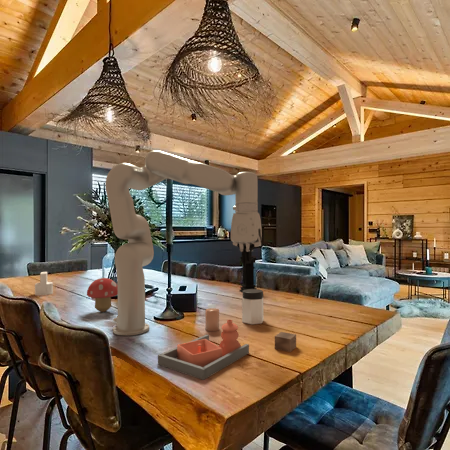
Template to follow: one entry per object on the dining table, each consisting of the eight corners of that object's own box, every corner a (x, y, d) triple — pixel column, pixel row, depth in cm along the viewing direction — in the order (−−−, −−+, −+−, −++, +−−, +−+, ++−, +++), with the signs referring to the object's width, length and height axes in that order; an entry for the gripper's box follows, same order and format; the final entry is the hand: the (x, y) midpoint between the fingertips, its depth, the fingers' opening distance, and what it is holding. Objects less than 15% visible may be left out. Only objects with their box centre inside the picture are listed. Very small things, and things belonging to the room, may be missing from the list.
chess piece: (239, 291, 192) (239, 256, 193) (252, 290, 195) (251, 256, 195) (244, 293, 185) (244, 257, 185) (257, 292, 187) (257, 257, 187)
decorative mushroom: (105, 306, 155) (105, 275, 155) (125, 310, 148) (125, 277, 148) (80, 313, 144) (80, 278, 144) (100, 317, 137) (100, 281, 137)
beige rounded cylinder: (202, 329, 120) (202, 310, 120) (211, 326, 124) (211, 307, 124) (213, 332, 117) (213, 312, 117) (221, 328, 121) (221, 309, 121)
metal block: (274, 349, 100) (274, 336, 100) (281, 344, 105) (281, 331, 105) (290, 352, 98) (290, 339, 98) (296, 347, 102) (296, 334, 102)
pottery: (192, 371, 85) (192, 333, 85) (177, 359, 93) (177, 324, 93) (248, 356, 95) (248, 322, 95) (230, 346, 103) (230, 315, 103)
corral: (157, 364, 89) (157, 355, 89) (206, 342, 106) (206, 334, 106) (203, 379, 80) (203, 369, 80) (248, 353, 97) (248, 344, 97)
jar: (268, 321, 130) (268, 290, 130) (255, 325, 124) (255, 293, 124) (250, 317, 136) (250, 288, 136) (237, 321, 130) (237, 290, 130)
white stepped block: (35, 293, 190) (35, 272, 190) (53, 291, 193) (53, 271, 193) (33, 296, 181) (33, 274, 181) (52, 294, 185) (52, 273, 185)
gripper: (222, 209, 113) (222, 262, 113) (260, 207, 104) (260, 265, 104) (234, 210, 119) (234, 261, 119) (271, 208, 110) (271, 263, 110)
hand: (246, 263), depth 112 cm, fingers closed
